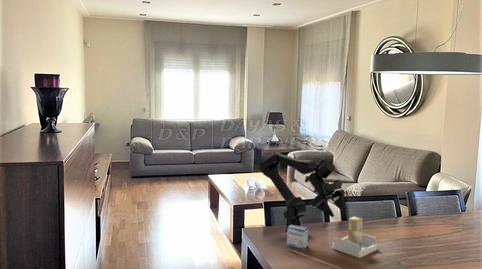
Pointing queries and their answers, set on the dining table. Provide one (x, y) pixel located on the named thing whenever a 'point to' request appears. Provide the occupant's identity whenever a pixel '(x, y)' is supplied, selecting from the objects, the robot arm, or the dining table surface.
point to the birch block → (355, 230)
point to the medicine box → (297, 236)
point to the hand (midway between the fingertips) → (339, 214)
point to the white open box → (355, 246)
